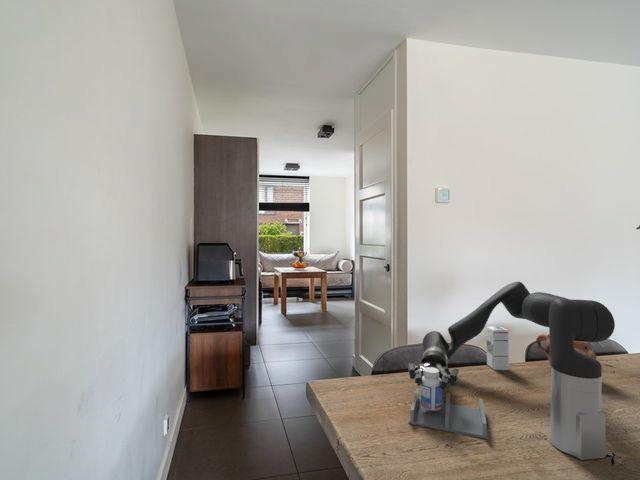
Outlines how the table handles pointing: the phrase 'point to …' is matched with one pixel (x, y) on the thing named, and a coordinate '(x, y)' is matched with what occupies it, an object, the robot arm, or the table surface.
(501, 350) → the syrup box
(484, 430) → the dish rack
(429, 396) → the pill bottle
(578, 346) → the decorative planter
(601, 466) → the table surface
